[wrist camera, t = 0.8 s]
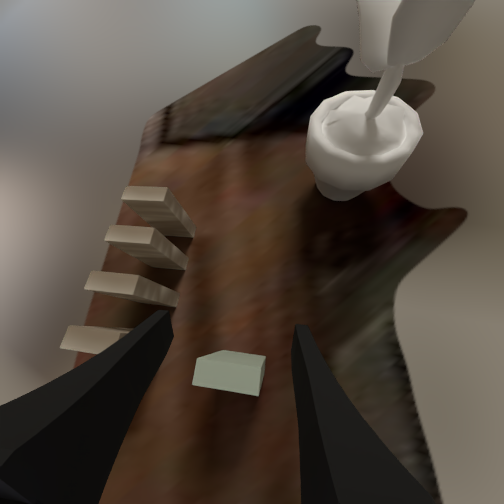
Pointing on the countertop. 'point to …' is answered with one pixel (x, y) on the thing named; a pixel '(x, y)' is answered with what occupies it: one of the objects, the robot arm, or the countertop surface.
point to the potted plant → (377, 98)
